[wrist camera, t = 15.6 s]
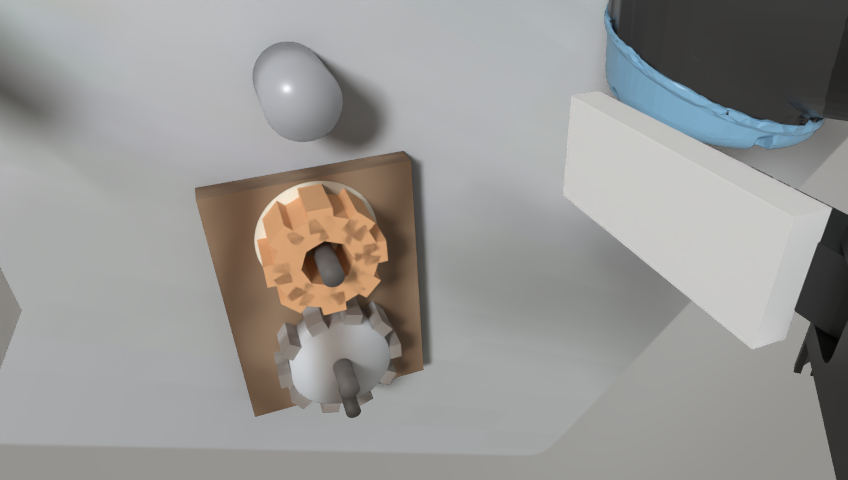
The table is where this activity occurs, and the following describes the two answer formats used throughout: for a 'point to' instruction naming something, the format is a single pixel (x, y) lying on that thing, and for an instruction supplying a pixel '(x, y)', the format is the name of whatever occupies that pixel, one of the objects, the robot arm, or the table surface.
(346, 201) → the loose gear
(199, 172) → the table surface
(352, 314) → the gear board
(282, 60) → the smooth gray pebble
